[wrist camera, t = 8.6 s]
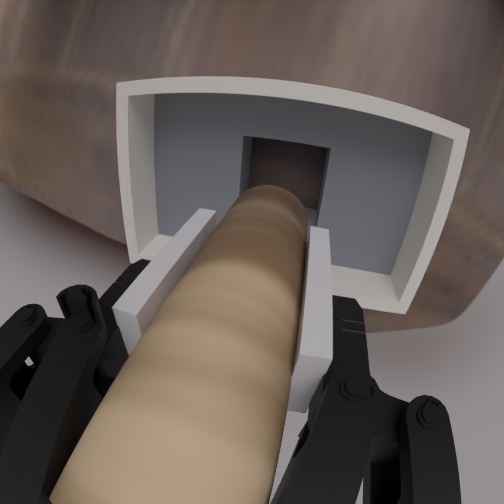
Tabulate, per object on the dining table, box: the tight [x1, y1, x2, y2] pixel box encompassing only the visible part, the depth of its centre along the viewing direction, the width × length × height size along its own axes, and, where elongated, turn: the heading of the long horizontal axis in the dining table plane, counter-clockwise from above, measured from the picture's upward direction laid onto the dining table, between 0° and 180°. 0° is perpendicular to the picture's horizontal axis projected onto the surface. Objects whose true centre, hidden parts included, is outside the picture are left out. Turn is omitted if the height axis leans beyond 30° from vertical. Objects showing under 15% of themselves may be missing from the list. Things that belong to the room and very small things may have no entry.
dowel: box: [49, 185, 308, 504], centre depth 9 cm, size 4×4×14 cm
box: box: [116, 76, 470, 314], centre depth 20 cm, size 22×14×7 cm, turn 85°
